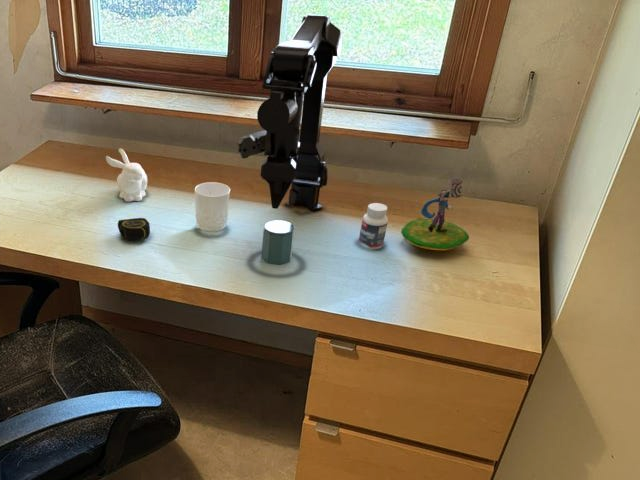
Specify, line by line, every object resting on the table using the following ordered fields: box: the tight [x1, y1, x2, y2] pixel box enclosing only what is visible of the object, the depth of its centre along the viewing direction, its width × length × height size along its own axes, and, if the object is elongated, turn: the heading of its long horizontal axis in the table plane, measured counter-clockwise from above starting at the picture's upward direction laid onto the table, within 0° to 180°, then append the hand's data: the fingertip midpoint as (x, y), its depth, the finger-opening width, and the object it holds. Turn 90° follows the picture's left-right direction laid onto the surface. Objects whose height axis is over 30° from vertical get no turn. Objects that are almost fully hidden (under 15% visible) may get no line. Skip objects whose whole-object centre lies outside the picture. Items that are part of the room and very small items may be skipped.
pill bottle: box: [358, 202, 389, 250], centre depth 148 cm, size 5×5×9 cm
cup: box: [260, 219, 296, 265], centre depth 142 cm, size 6×6×7 cm
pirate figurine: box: [400, 178, 470, 251], centre depth 145 cm, size 14×13×15 cm
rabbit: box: [105, 147, 149, 203], centre depth 171 cm, size 12×9×12 cm
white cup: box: [194, 181, 231, 232], centre depth 155 cm, size 8×8×10 cm
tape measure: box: [117, 217, 151, 242], centre depth 154 cm, size 7×7×4 cm
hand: (276, 200), depth 137 cm, fingers open, 9 cm apart
